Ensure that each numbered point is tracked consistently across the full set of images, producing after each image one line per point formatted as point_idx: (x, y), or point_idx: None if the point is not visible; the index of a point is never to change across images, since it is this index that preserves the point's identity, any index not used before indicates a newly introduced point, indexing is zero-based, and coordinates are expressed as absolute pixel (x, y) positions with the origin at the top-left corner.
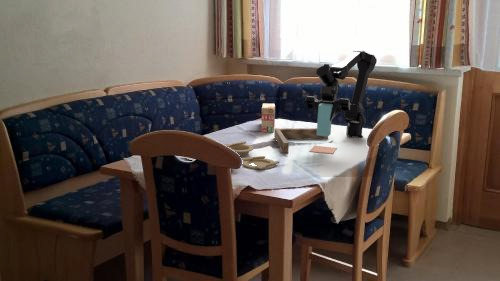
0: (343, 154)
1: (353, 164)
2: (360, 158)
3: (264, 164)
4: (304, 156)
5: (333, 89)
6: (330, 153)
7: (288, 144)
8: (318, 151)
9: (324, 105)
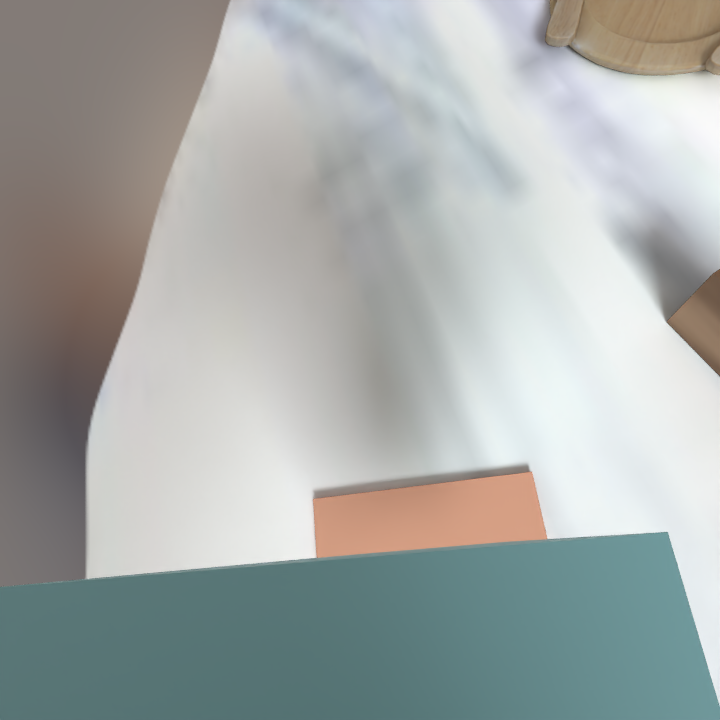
0: (230, 535)
1: (132, 304)
2: (95, 477)
3: (634, 17)
4: (497, 310)
5: None
6: (333, 496)
7: (706, 281)
8: (448, 498)
9: (271, 641)
